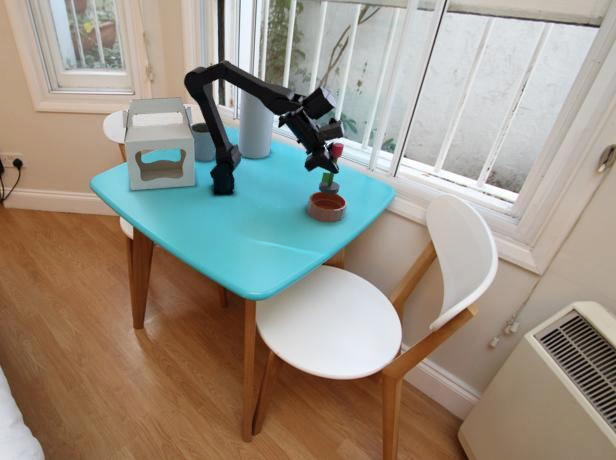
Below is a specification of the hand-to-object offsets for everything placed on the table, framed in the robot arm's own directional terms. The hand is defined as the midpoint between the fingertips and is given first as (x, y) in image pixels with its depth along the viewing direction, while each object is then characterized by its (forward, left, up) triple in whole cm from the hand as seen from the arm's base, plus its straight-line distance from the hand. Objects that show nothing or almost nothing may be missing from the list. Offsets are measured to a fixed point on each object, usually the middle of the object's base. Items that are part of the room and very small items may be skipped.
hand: (337, 171), depth 106 cm
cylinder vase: (-15, +44, -13) cm, 48 cm away
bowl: (-2, -1, -13) cm, 13 cm away
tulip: (-1, +1, -6) cm, 6 cm away
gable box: (-51, +26, -13) cm, 58 cm away
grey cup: (-35, +42, -13) cm, 56 cm away
